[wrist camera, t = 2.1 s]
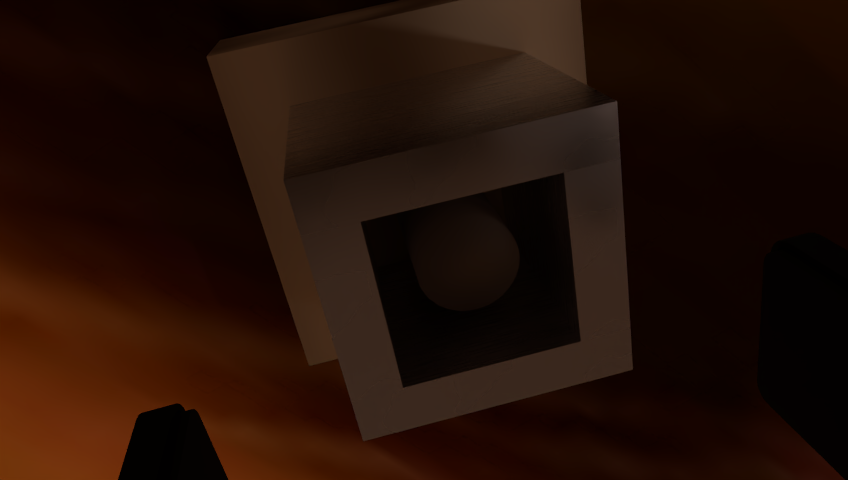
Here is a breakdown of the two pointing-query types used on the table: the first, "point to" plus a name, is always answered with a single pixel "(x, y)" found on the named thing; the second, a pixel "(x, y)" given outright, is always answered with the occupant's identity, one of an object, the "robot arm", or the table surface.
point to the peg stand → (368, 67)
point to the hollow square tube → (450, 179)
